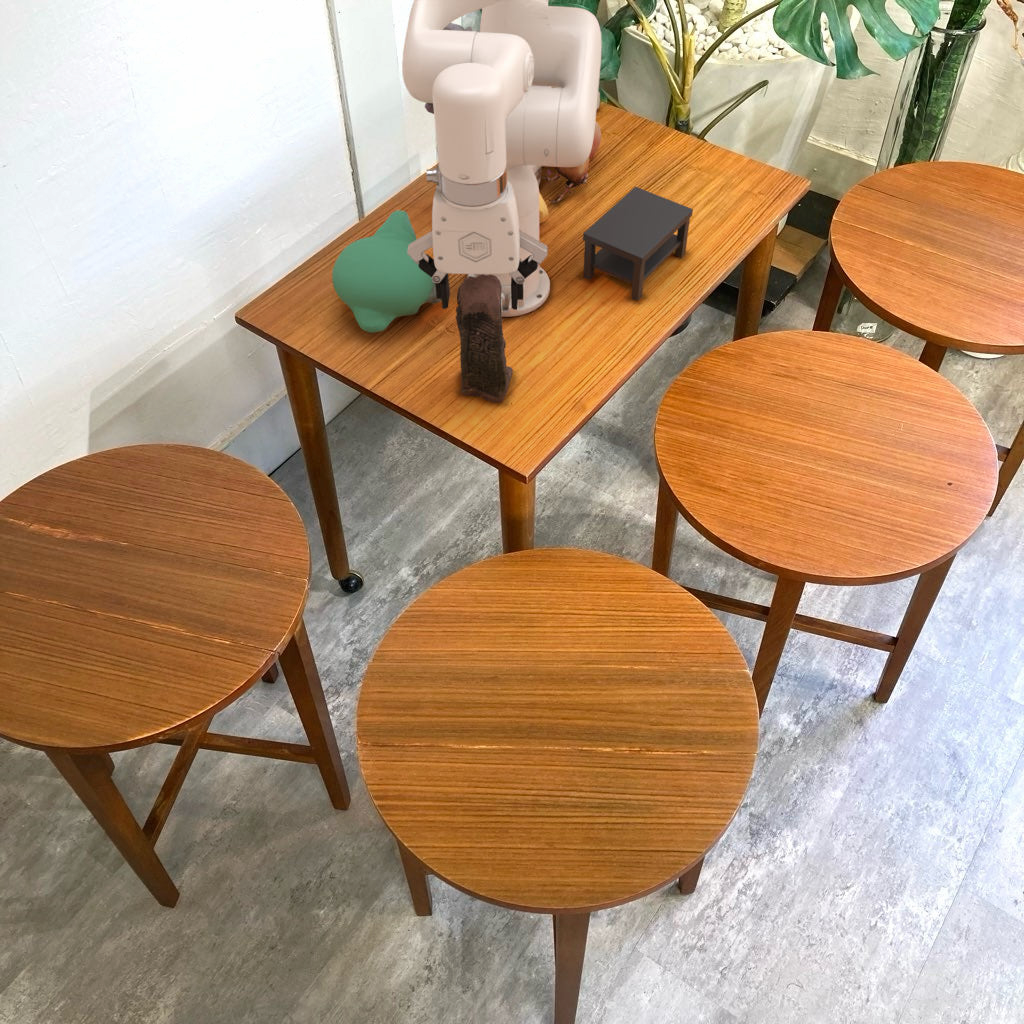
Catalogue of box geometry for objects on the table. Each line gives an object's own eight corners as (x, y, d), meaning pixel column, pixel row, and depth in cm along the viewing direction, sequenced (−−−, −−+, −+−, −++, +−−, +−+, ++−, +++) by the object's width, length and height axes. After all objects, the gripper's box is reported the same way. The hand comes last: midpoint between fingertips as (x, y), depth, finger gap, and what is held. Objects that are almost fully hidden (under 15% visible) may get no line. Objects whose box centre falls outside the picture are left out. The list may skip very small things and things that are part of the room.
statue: (513, 373, 145) (509, 254, 130) (508, 410, 141) (503, 292, 125) (464, 370, 146) (454, 252, 130) (457, 407, 142) (446, 289, 126)
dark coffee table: (638, 302, 154) (642, 258, 148) (581, 277, 158) (583, 233, 152) (687, 253, 161) (693, 208, 155) (631, 230, 165) (635, 186, 159)
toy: (337, 339, 157) (421, 359, 151) (298, 297, 147) (387, 317, 140) (384, 239, 161) (469, 255, 155) (350, 192, 151) (439, 206, 144)
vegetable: (487, 128, 168) (515, 88, 160) (536, 111, 174) (565, 71, 165) (542, 211, 168) (573, 175, 159) (588, 191, 174) (620, 155, 165)
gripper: (392, 199, 116) (408, 321, 130) (550, 200, 115) (549, 323, 129) (399, 160, 121) (414, 282, 134) (552, 160, 120) (551, 283, 133)
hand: (480, 301), depth 131 cm, fingers open, 8 cm apart
